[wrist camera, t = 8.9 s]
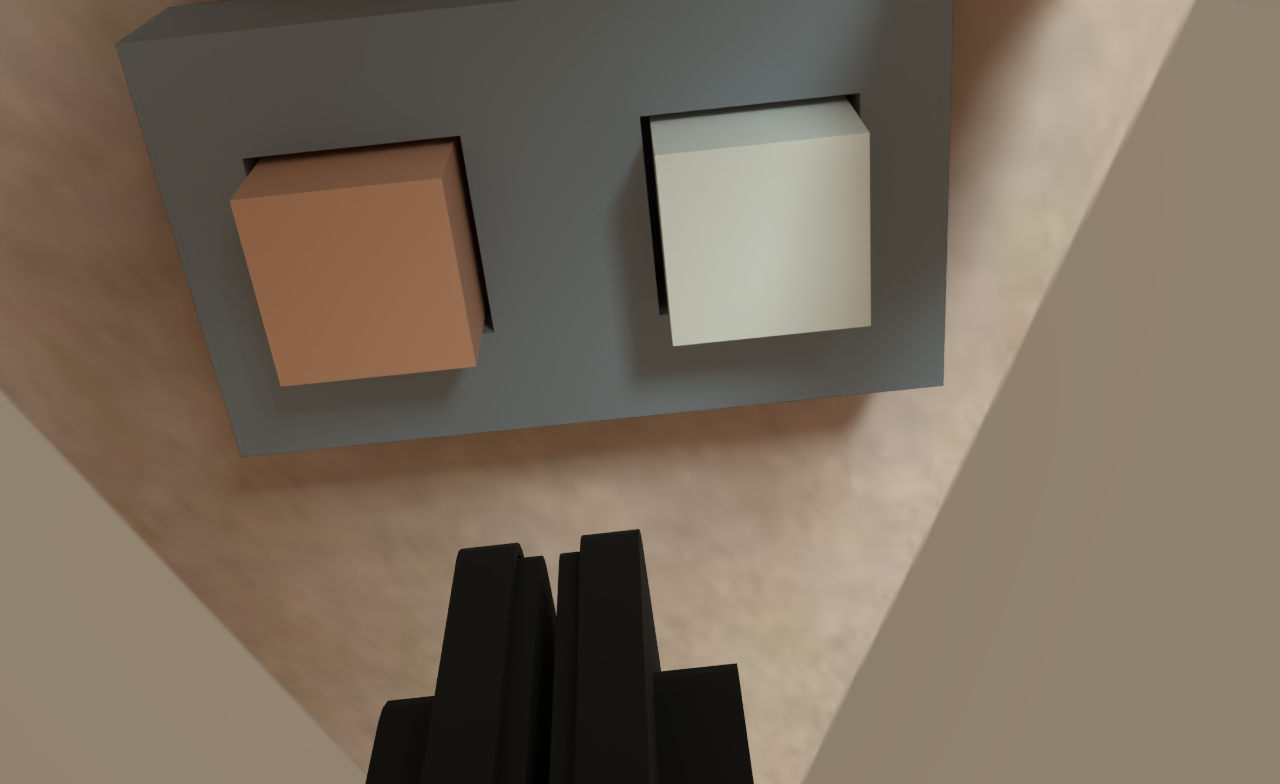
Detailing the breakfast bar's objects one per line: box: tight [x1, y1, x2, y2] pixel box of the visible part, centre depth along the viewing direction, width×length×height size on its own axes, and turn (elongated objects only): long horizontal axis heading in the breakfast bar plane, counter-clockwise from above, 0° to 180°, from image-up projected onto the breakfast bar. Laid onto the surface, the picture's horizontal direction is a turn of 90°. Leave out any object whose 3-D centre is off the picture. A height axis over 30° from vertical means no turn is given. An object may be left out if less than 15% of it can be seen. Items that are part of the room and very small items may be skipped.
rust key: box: [229, 136, 488, 387], centre depth 38 cm, size 6×6×5 cm
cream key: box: [649, 95, 871, 346], centre depth 38 cm, size 6×6×5 cm
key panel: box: [116, 0, 953, 457], centre depth 40 cm, size 14×24×5 cm, turn 96°
